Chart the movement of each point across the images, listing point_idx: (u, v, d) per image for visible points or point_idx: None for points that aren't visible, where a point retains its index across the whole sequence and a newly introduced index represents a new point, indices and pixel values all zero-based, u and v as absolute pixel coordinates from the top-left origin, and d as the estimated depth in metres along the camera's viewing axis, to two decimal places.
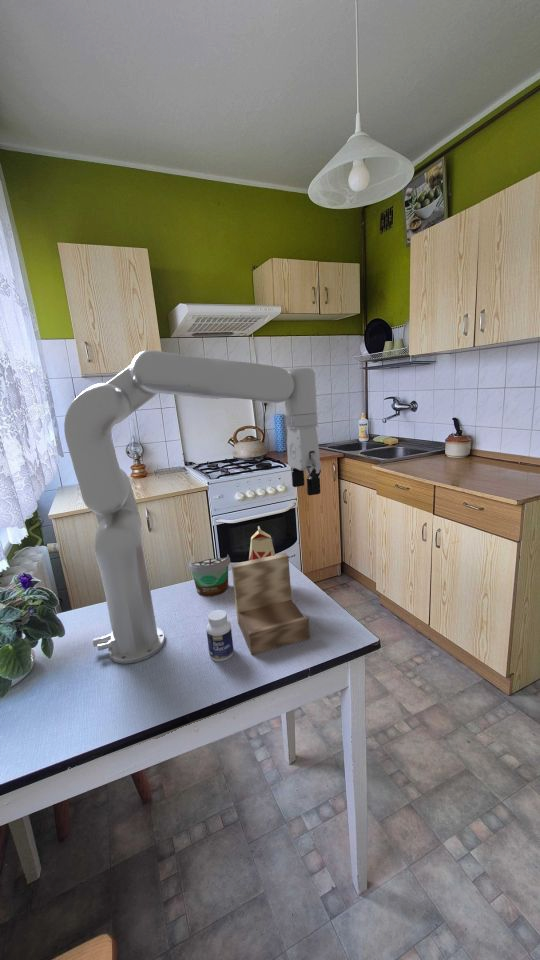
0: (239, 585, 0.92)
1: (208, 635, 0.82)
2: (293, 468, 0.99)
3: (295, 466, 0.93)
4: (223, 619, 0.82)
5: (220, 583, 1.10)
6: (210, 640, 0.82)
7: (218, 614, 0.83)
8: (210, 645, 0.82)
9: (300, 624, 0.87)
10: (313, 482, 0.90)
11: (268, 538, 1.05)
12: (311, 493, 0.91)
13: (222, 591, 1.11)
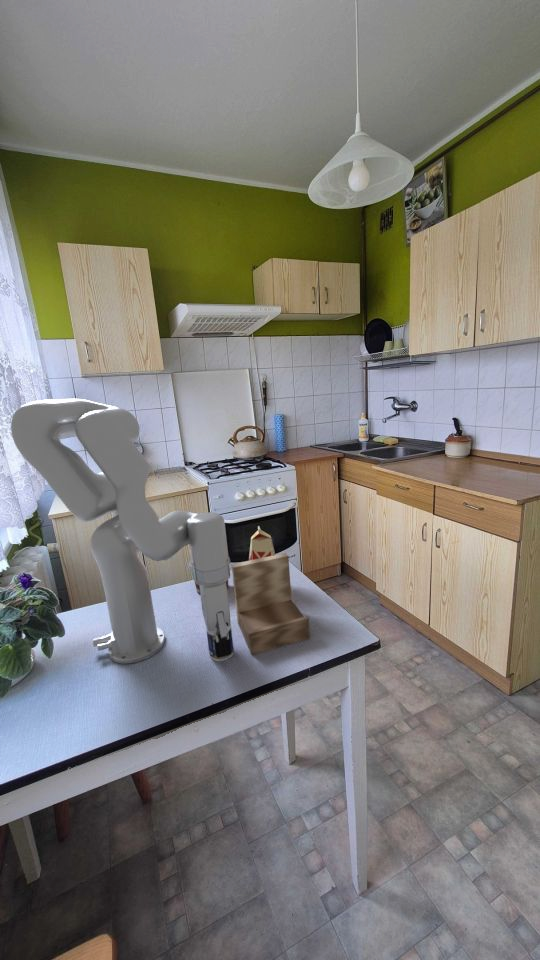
0: (239, 585, 0.92)
1: (208, 635, 0.82)
2: None
3: (205, 621, 0.81)
4: None
5: None
6: (210, 640, 0.82)
7: None
8: (210, 645, 0.82)
9: (300, 624, 0.87)
10: (221, 645, 0.80)
11: (268, 538, 1.05)
12: (220, 655, 0.81)
13: None
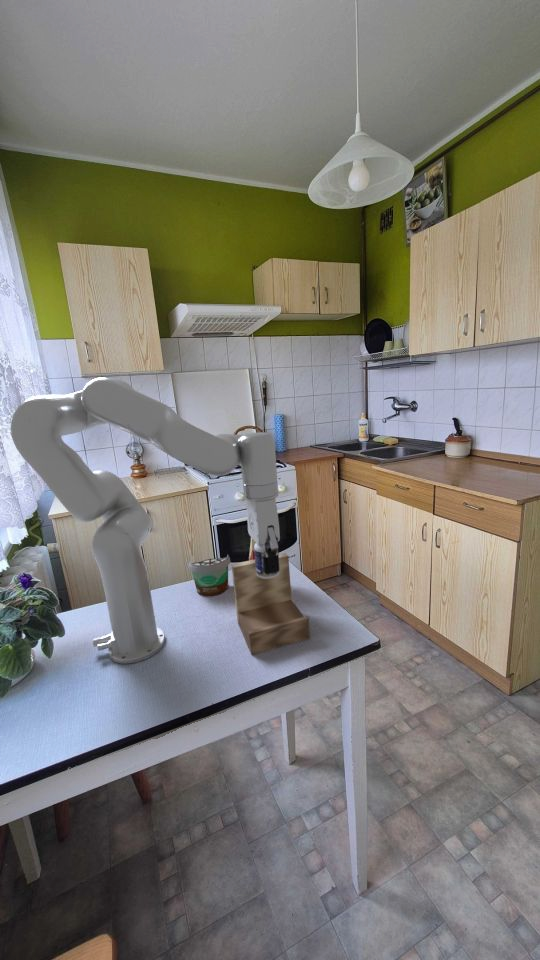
0: (239, 585, 0.92)
1: (256, 553, 0.85)
2: None
3: (254, 539, 0.84)
4: None
5: (220, 583, 1.10)
6: (258, 557, 0.85)
7: None
8: (258, 563, 0.85)
9: (300, 624, 0.87)
10: (270, 561, 0.83)
11: None
12: (268, 571, 0.84)
13: (222, 591, 1.11)
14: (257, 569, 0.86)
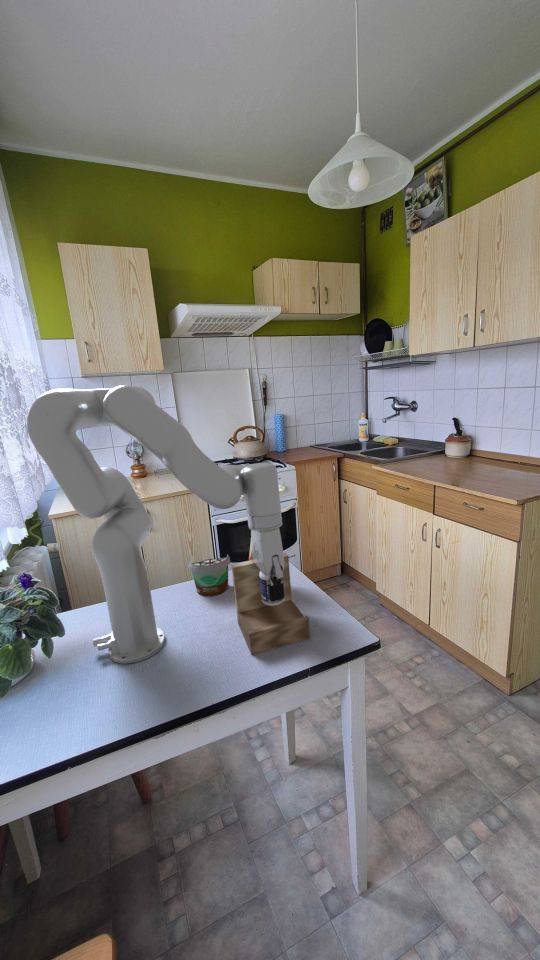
0: (239, 585, 0.92)
1: (262, 580, 0.86)
2: None
3: (259, 567, 0.85)
4: None
5: (220, 583, 1.10)
6: (263, 585, 0.86)
7: None
8: (264, 590, 0.87)
9: (300, 624, 0.87)
10: (275, 589, 0.84)
11: None
12: (274, 599, 0.85)
13: (222, 591, 1.11)
14: (263, 596, 0.87)
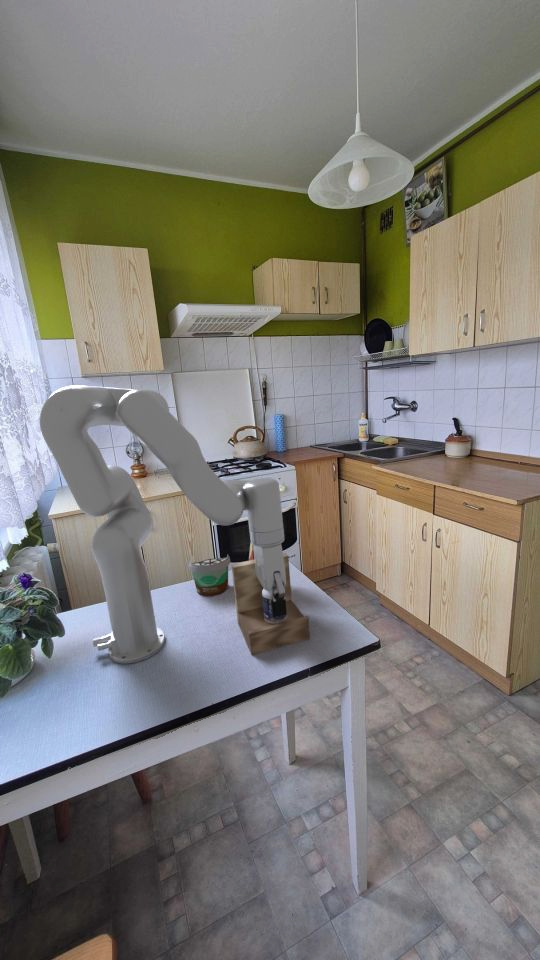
0: (239, 585, 0.92)
1: (264, 599, 0.87)
2: None
3: (260, 582, 0.85)
4: None
5: (220, 583, 1.10)
6: (266, 603, 0.87)
7: None
8: (266, 608, 0.87)
9: (300, 624, 0.87)
10: (278, 605, 0.83)
11: None
12: (276, 615, 0.85)
13: (222, 591, 1.11)
14: (265, 614, 0.88)
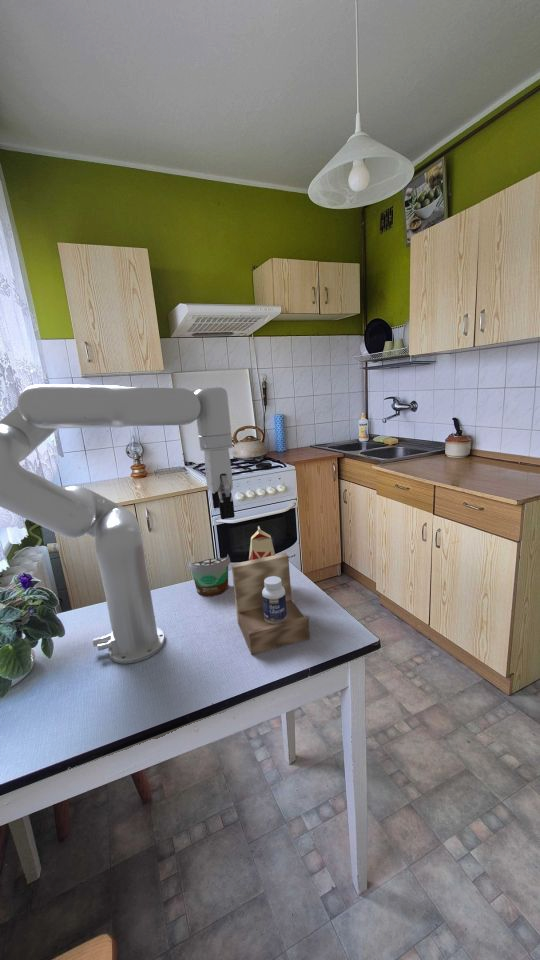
0: (239, 585, 0.92)
1: (264, 599, 0.87)
2: None
3: (209, 488, 0.89)
4: (279, 584, 0.87)
5: (220, 583, 1.10)
6: (266, 603, 0.87)
7: (273, 579, 0.88)
8: (266, 608, 0.87)
9: (300, 624, 0.87)
10: (225, 506, 0.87)
11: (268, 538, 1.05)
12: (224, 517, 0.88)
13: (222, 591, 1.11)
14: (265, 614, 0.88)
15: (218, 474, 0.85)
